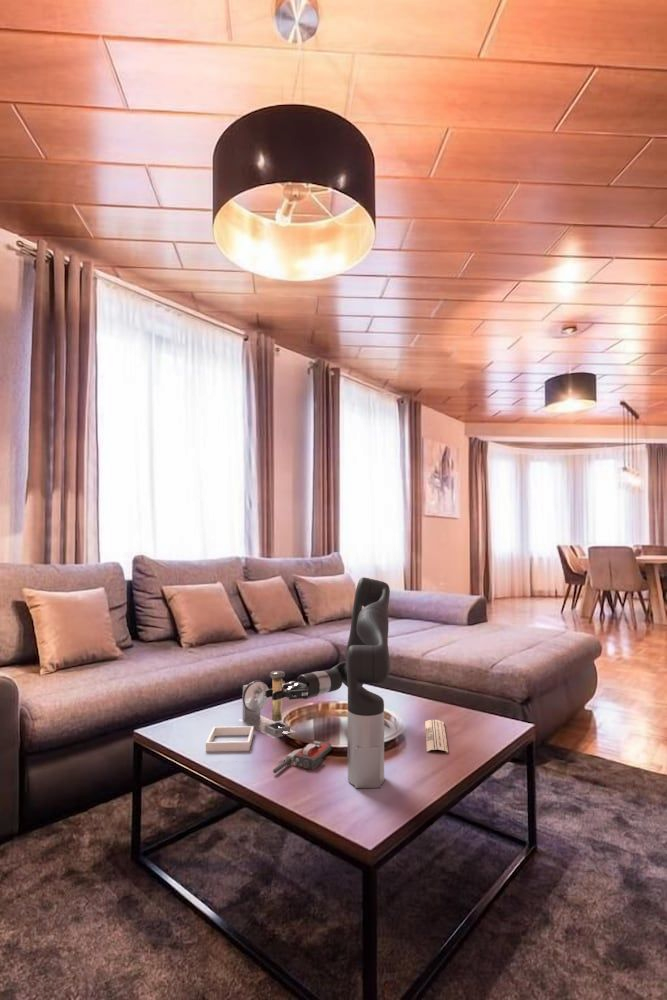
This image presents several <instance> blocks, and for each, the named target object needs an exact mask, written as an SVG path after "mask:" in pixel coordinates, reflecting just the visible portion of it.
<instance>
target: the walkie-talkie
mask: <svg viewBox="0 0 667 1000" xmlns="http://www.w3.org/2000/svg"><path fill="white" fill-rule="evenodd" d="M332 747H333V745H332V744H331V743H330V742H327V741H326V742H325V741H322V740H316V739H315V740H314V741H313V740H312V741H310V742H309V743H308V744H306V746H304V747H303V748H298V749H294V750H293V751H292V752H290V753H289V754H287V755H286V759H285V760H284V761H283V762H282V763H280V764H279V765H277V766H276V767H275V768H274V769H273V770H272V772H273V774H276V773H278V772H280V770H282V769H283V768H284V767H286V766H287V765H290V764H291V765H293V767H295V766H296V767H301V768H305V769H308V770H309V769H310V770H315V769H316V768H317V767H319V766H320V765H321V764H322V763H324V762H325V760H327V758H325V756H326V755H328V753H330V752H331V751H332V750H331V749H332ZM323 757H324V758H323Z"/></svg>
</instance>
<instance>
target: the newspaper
mask: <svg viewBox="0 0 667 1000" xmlns="http://www.w3.org/2000/svg"><path fill="white" fill-rule="evenodd" d="M424 723H425V724H424V725H425V739H426V740H425V742H426V744H425V745H426V752H427V753H430V751H436V750H439V751H443V752H445V753H446V754H449V748H448V740H447V734H446V728H445V722H444V721H442V720H439V719H428V720H426V721H424Z"/></svg>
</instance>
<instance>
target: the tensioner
mask: <svg viewBox="0 0 667 1000" xmlns="http://www.w3.org/2000/svg"><path fill="white" fill-rule="evenodd" d="M267 689H269V687H268V684H267V683H266V682H264V681H263V680H259V679H258V680H257V679H256V680H253V681H251V682H249V683H247V684H244V685H242V697H241V699H242V718H241V719H238V721H239V722H241V723H242V724H245V725H247V726H254V730H256V731H259V732H260V733H262V734H264V735H267V737H268V736H269V737H270V738H272V739H277V738H280V737H283V735H282V732H283V731H288V732H290V734H293V733H296V732H297V731H295V730H293V729H291V725H289V724H286V723H284V722H283V721H281V720H280V721H273V720H272V719H270V718H268V717H265V716H263V715H261V710H262V709H263V708H265V706H266V705H267V703H268V701H269V698H270V697H268V698H267V697H266V696H265V691H266V690H267ZM278 726H280V727H282V728H278Z"/></svg>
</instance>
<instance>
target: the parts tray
mask: <svg viewBox="0 0 667 1000" xmlns="http://www.w3.org/2000/svg"><path fill="white" fill-rule="evenodd" d="M254 731H255V728H254V726H249V725H247V726H246V725H245V726H244V725H243V726H242V725H239V726H213V727H212V729H211V732H210V733H209V736H208V738H207V740H206V742H205V752H249V751H250V749H251V745H252V741H253V738H254V734H255V732H254ZM216 736H218V737H219V736H248V737H247V741H246V740H244V741H243V740H242V741H241V740H240V741H236V740H235V741H214V739H215V737H216Z"/></svg>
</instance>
